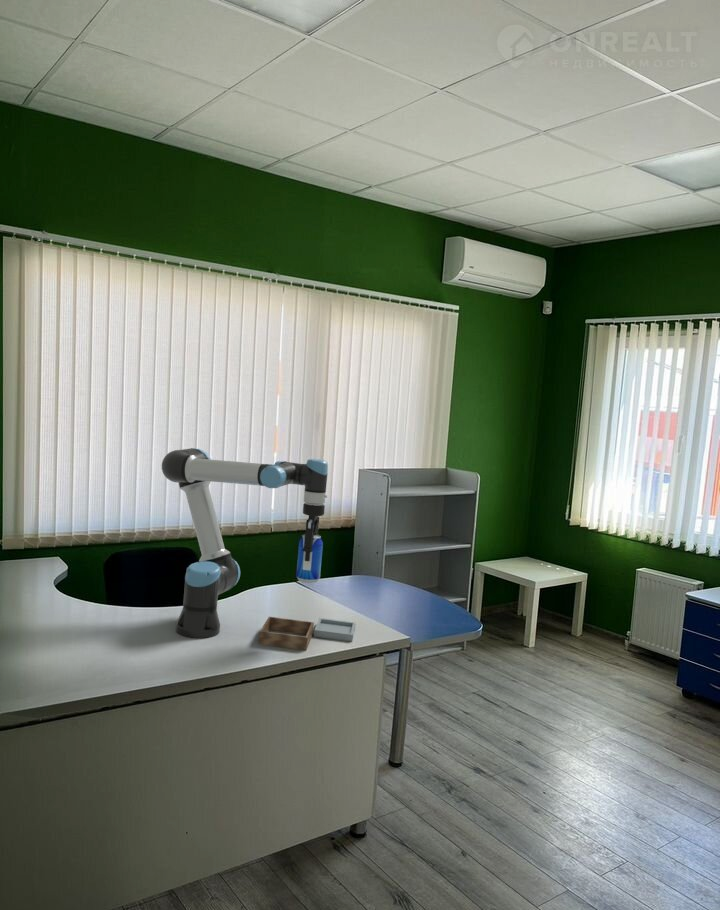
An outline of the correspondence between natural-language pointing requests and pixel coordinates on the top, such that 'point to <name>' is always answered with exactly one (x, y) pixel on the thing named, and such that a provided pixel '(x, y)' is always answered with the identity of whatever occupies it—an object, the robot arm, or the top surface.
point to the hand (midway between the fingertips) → (309, 566)
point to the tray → (335, 629)
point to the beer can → (314, 573)
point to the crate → (286, 639)
